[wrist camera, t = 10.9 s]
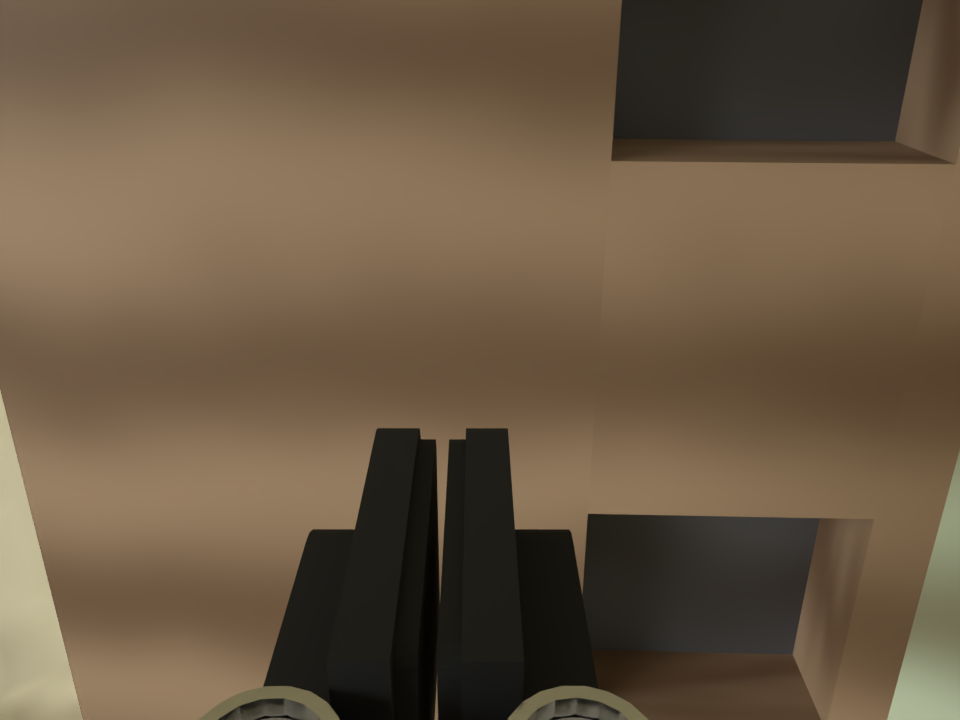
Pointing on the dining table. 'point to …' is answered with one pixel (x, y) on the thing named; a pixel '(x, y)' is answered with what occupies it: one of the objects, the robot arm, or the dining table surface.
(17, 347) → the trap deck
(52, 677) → the dining table surface
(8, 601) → the dining table surface
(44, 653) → the dining table surface
